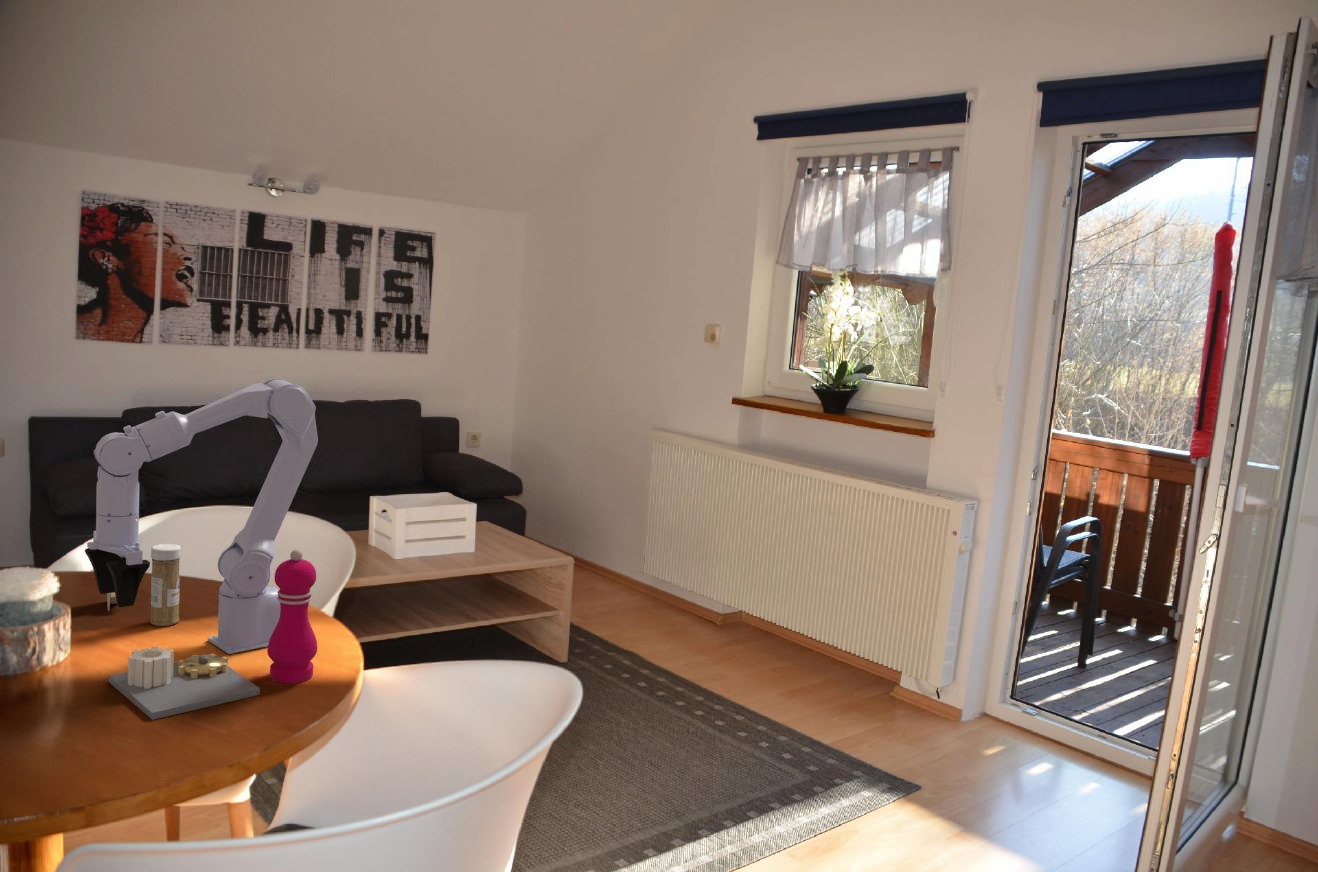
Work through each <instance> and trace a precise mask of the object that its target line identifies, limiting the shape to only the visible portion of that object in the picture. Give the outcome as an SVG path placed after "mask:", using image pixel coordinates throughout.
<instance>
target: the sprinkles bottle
mask: <svg viewBox="0 0 1318 872" xmlns="http://www.w3.org/2000/svg"><path fill="white" fill-rule="evenodd" d="M150 549H151V550H150V559H151V577H150V580H151V581H150V583H151V584H150V585H151V586H150V588H151V589H150V605H151V606H150V609H151V611H150V612H151V616H150V620H149V621H150V624H151V625H152V626H157V627H170V626H173V625H175V624H178V623H179V621H180V617H179V615H180V614H179V613H180V612H179V609H180V608H179V607H180V605H179V604H180V560H181V556H182V547H181V546H180V545H179V544H174V543H159V544H156V545H153V546H152V547H151V548H150Z"/></svg>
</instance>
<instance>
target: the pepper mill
mask: <svg viewBox="0 0 1318 872" xmlns="http://www.w3.org/2000/svg"><path fill="white" fill-rule="evenodd" d="M289 556H290V557H289V558H290V559H287V560H284V561H282V562H281V563H280V564H278V566H277V568H276V569H275V571H274V572H275V573H274V583H275V585H276V586H277V587H278V588H279V589H278V592H277V594H278V597H277V600H278V601H279V602H280V608H281V609H280V617H279V621H278V623H277V625H276V628H275V629H274V631H273V633H272V635H271V637H270V640H269V643H268V646H267V650H266V651H267V656H268V657H269V659H270V660H271V661H272V663H271V664H270V666H269V678H270V679H271V680H273V681H275V682H276V683H281V684H298V683H303V682H306V681H308V680H310V679H311V678H312V677H313V675H314V663H313V662H312V660H313V659H314V657H315V656H316V655H317V653H318V641H317V637H316V634H315V632H314V630H313V628H312V625H311V623H310V620H309V619H310V618H309V603H310V602H311V601H312V600H313V596H312V595H313V590H312V589H311V588H312V587H313V586H314V585H315V583H316V580H317V571H316V568H315V566H314V565H313V564H312V563H311V562H310V561H308V560H306V559H304V558H303V551H301V550H300V549H293V550H292V551H291V552H290V555H289Z"/></svg>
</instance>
